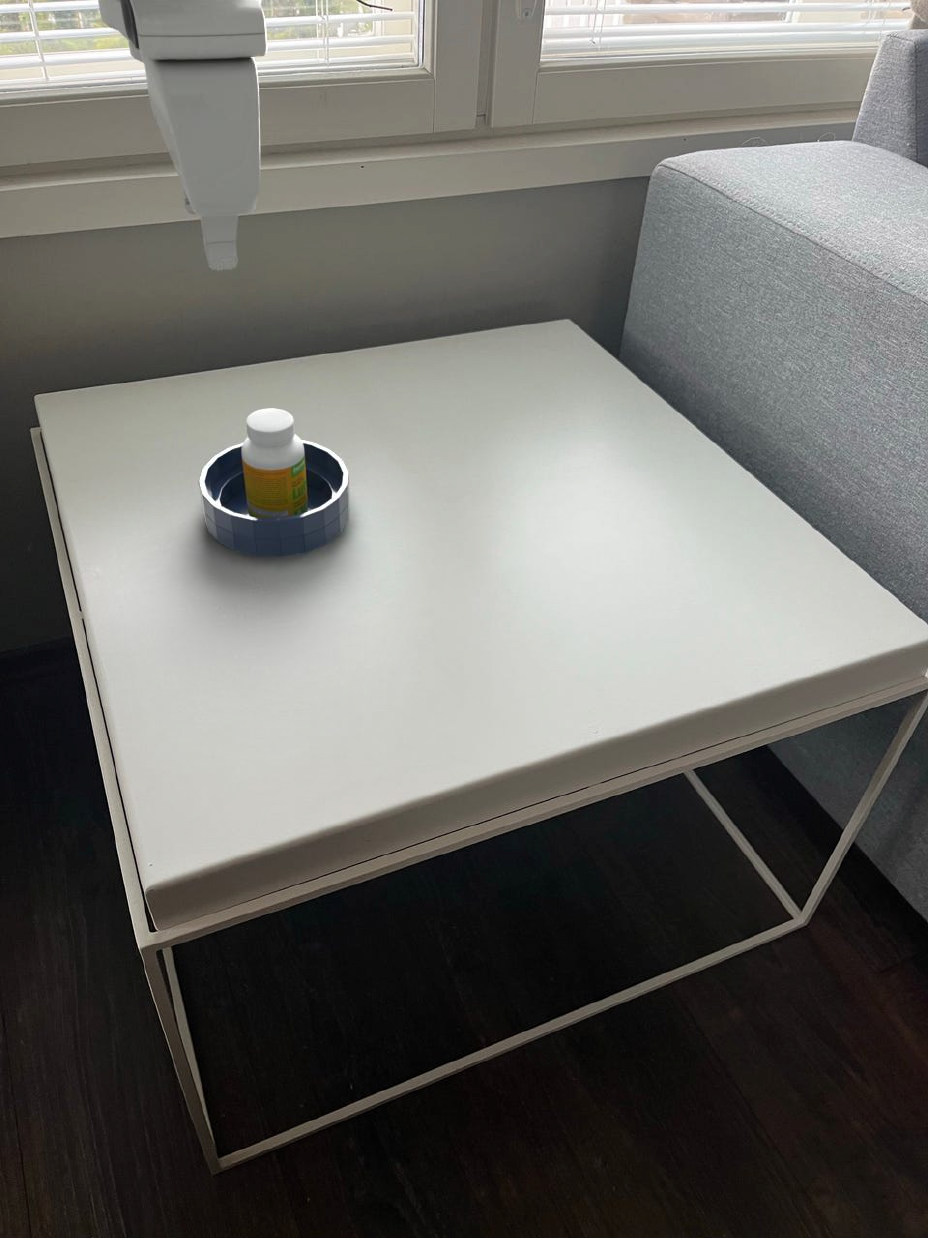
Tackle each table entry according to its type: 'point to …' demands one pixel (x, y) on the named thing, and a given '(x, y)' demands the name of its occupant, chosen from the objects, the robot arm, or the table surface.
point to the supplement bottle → (274, 466)
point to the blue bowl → (275, 535)
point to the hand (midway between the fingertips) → (209, 236)
